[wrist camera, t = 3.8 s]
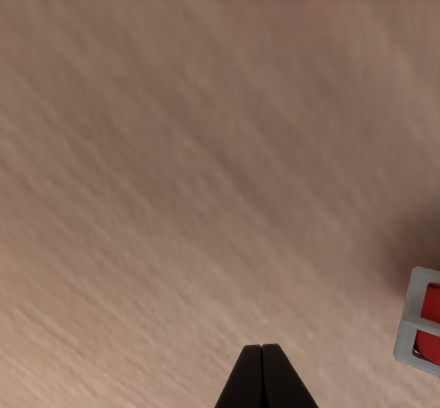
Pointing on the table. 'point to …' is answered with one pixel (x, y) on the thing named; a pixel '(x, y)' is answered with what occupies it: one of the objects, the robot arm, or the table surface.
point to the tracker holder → (421, 322)
